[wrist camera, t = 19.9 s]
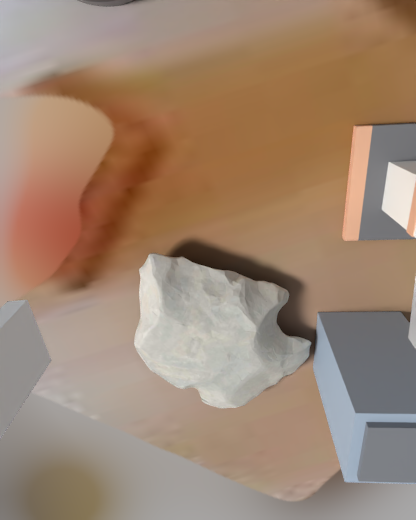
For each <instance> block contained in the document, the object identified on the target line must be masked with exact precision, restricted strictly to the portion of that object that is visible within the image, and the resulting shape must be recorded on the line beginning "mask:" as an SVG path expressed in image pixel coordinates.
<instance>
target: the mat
mask: <svg viewBox="0 0 416 520" xmlns="http://www.w3.org/2000/svg"><path fill="white" fill-rule="evenodd" d="M397 161H416V123H401V124H380V125H358V126H354V129H353V139H352V148H351V158H350V167H349V177H348V186H347V196H346V205H345V215H344V224H343V233H342V238H343V239H344V241H350V240H393V239H416V238H415V237H411V236H410V235H409V234H408V233H407V232H406V231H407V230H406V229H405V228H403V227H402V226H401V225H400V224H398V223H397V222H396V221H395V220H394V219H392V218H391V217H390V216H389V215H388V214H386V213H385V212H384V211H383V210H382V203H383V197H384V190H385V183H386V176H387V170H388V163H389V162H397Z"/></svg>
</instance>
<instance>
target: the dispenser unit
mask: <svg viewBox="0 0 416 520" xmlns="http://www.w3.org/2000/svg"><path fill="white" fill-rule="evenodd" d="M409 327H410V323H409V322H408V321H407V319H406V318H405V317H404V315H403V314H402V313H401V312H318V316H317V328H316V340H315V352H314V364H313V370H314V374H315V377H316V381H317V384H318V388H319V392H320V395H321V399H322V402H323V406H324V409H325V413H326V416H327V420H328V424H329V427H330V431H331V434H332V438H333V441H334V445H335V448H336V452H337V456H338V459H339V463H340V466H341V470H342V473H343V477H344V480H345V482H365V483H402V484H416V349H415V348H414V346H413V345H412V343H411V342H410V340H409V339H408V335H409Z"/></svg>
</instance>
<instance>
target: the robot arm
mask: <svg viewBox="0 0 416 520" xmlns="http://www.w3.org/2000/svg"><path fill="white" fill-rule="evenodd" d="M78 1H81V2H84V3H87V4H91V5H96V6H117V5H122V4H125V3H128V2H131V1H133V0H78ZM408 339H409V340H410V342H411V343H412V345H413V346H414V348H415V349H416V278H415V286H414V294H413V302H412V310H411V318H410V327H409V335H408ZM50 362H51V358H50V355H49V353H48V350H47V348H46V345H45V343H44V340H43V338H42V335H41V333H40V330H39V328H38V325H37V323H36V320H35V318H34V315H33V313H32V310H31V308H30V305H29V303H28V300H19V301H8V302H7V303H5V304H4V305H3V306H2V307H1V308H0V439H1V437H2V436H3V434H4V433H5V431H6V430H7V428H8V427H9V425H10V423H11V422H12V420H13V419H14V417H15V416H16V414H17V413H18V411H19V410H20V408H21V407H22V405H23V403H24V402H25V400H26V399H27V397H28V396H29V394H30V393H31V391H32V390H33V388H34V386H35V385H36V383H37V382H38V380H39V379H40V377H41V376H42V374H43V373H44V371H45V370H46V368H47V366H48V365H49V363H50Z"/></svg>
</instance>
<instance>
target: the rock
mask: <svg viewBox="0 0 416 520" xmlns="http://www.w3.org/2000/svg"><path fill="white" fill-rule="evenodd" d="M139 272H140V277H141V280H140V288H139V298H140V312H141V318H140V321H139V324H138V327H137V330H136V333H135V343H134V345H135V347H136V349H137V352H138V353H139V355H140V356H141V358H142V359H143V360H144V362H145V363H146V365H147V366H148V367H149V368H150V370H151V371H153V372H154V373H156V374H158V375H159V376H161V377H162V378H163V379H165V380H166V381H168V382H169V383H171V384H172V385H174V386H176V387H177V388H181V389H186V388H189V387H194V388H196V389H197V390H198V391H199V393H200V396H201V398H202V402H204V403H206V404H208V405H211V406H215V407H218V408H230V407H231V408H236V407H239V406H244V405H245V404H247V403H248V402H249V401H250V400H252V399H253V398H255V397H256V396H258V395H259V394H260V393H261V392H262V391H264V390H265V389H266V388H267V387H269V386H272V385H274V384H277V383H278V381H279V380H280V379H281V378H282V377H284V376H287V375H289V374H292V373H294V372H295V371H296V370H297V369H298V368H299V367H300V366H301V365H302V364H303V363H304V362H305V360H306V359H307V358H308V357H309V349H310V346H311V342H310V341H309V340H306V339H304V338H301V337H296V336H288V335H285V334H284V333H283V332H282V331H281V329H280V328H279V326H278V325H277V322H276V321H277V315H278V312H279V310H280V309H281V308H282V307H283V306H284V305H285V304H286V303H287V301H288V298H289V293H288V291H287V290H286V289H284V288H282V287H280V286H278V285H276V284H275V283H269V282H266V281H254V280H252V279H250V278H247V277H245V276H242V275H240V274H238V273H237V272H234V271H229V270H219V269H214V268H210V267H206V266H202V265H199V264H196V263H193V262H191V261H189V260H188V259H186V258H184V257H169V256H165V255H161V254H157V253H151V254H149V256H148V258H147V260H146V262H145V264H144V265H143V266H142V267H141V268H140V269H139Z"/></svg>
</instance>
